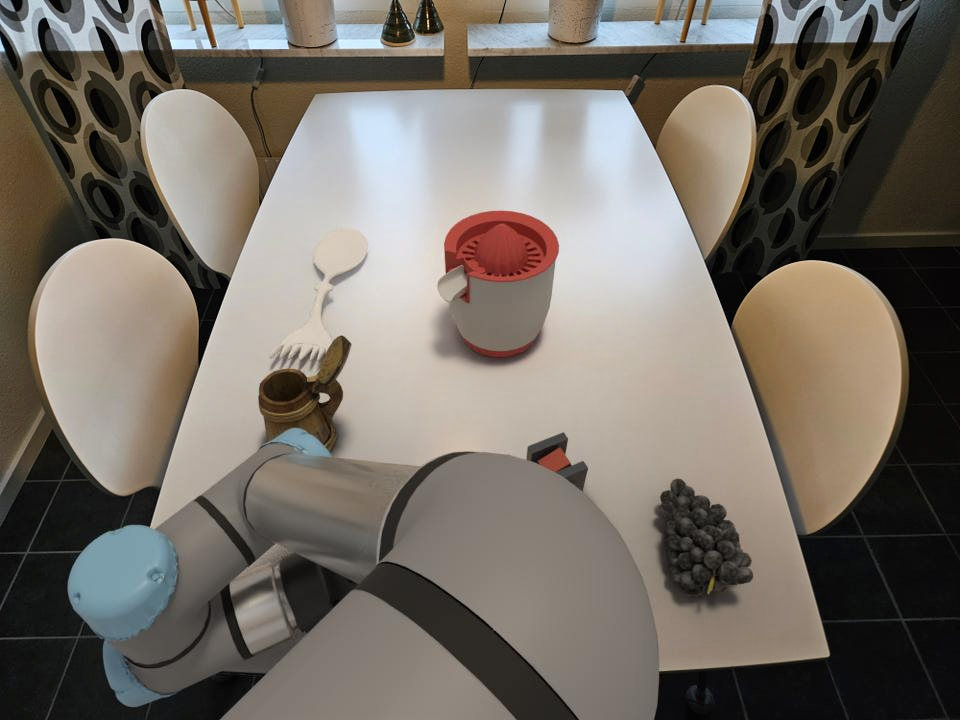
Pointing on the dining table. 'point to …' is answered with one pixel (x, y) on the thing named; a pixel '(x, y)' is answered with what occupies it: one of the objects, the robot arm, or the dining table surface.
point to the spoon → (324, 291)
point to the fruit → (701, 542)
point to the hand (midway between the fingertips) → (502, 506)
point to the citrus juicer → (499, 280)
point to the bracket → (545, 447)
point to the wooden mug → (305, 397)
